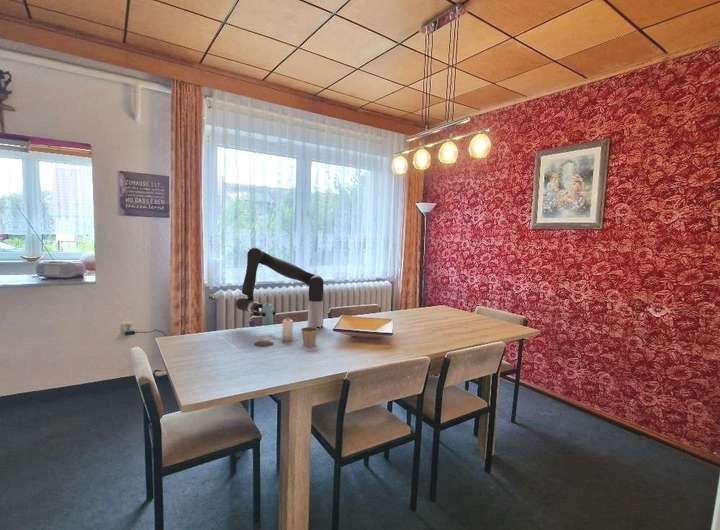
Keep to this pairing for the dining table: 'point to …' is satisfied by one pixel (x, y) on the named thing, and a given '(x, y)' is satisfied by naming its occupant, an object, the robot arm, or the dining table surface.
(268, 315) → the jar teal
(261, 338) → the tile
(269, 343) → the mat
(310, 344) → the flower pot
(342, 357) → the dining table surface
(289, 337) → the peach pillar candle
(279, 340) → the tile
